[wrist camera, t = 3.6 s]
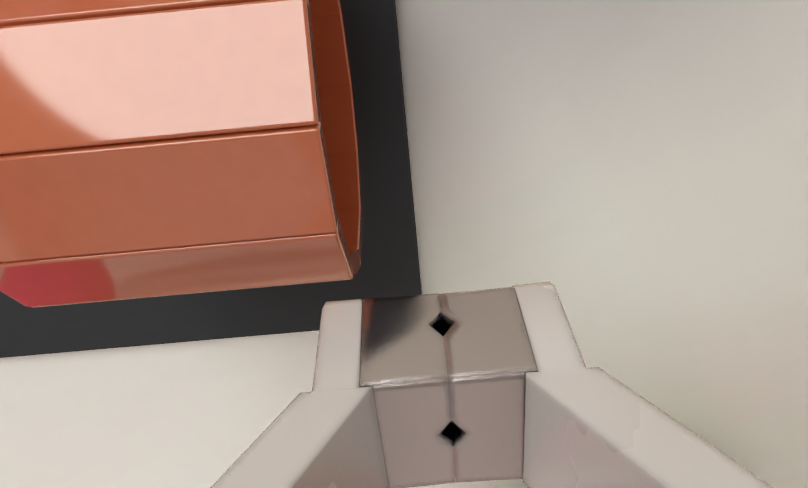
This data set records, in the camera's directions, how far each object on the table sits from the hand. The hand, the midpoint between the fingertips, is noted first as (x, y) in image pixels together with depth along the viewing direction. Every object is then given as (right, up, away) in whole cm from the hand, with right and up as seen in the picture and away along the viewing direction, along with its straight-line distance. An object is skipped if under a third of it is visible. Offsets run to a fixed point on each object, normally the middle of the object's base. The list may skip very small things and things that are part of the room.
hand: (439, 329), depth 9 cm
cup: (-6, +7, +10) cm, 14 cm away
